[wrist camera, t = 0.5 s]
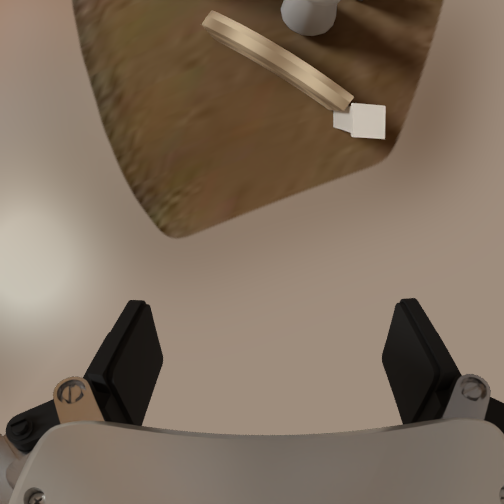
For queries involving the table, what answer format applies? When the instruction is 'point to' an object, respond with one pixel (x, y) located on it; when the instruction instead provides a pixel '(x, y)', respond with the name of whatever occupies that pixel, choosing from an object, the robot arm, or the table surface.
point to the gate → (277, 61)
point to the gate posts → (362, 120)
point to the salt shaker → (309, 15)
